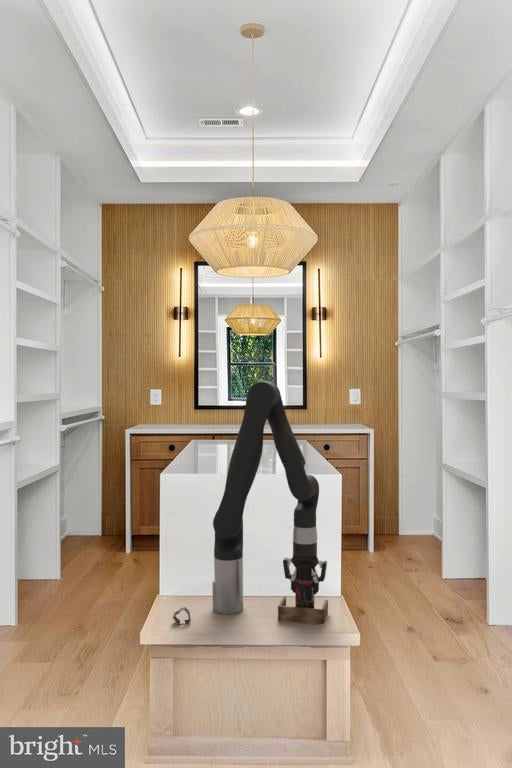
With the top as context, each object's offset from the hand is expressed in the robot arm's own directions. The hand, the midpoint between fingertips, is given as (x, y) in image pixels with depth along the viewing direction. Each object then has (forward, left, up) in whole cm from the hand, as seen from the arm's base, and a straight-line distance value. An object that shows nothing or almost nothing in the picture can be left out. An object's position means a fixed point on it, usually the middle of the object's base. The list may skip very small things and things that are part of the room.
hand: (304, 592), depth 207 cm
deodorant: (0, 0, -5) cm, 5 cm away
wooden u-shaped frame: (0, -1, -7) cm, 7 cm away
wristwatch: (-36, -14, -8) cm, 39 cm away
